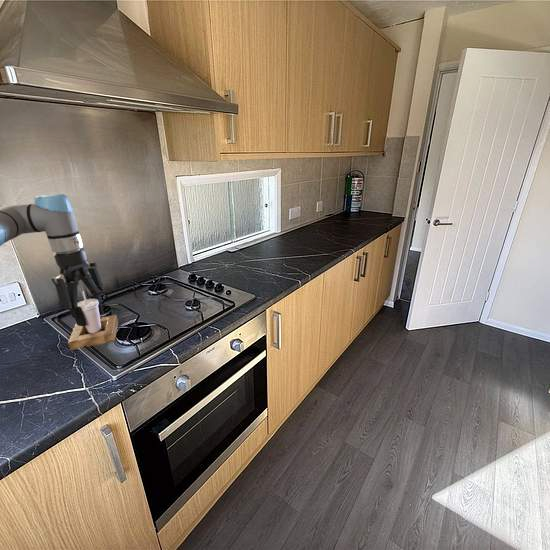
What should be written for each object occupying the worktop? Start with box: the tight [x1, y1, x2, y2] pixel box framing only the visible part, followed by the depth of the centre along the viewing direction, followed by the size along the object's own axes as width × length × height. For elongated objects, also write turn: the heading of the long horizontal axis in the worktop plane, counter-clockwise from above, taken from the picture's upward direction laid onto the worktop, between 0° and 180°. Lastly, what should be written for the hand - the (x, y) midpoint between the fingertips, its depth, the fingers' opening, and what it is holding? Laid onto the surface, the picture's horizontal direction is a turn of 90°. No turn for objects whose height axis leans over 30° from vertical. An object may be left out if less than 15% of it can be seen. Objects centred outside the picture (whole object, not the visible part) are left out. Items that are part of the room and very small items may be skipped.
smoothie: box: [78, 290, 102, 334], centre depth 92 cm, size 6×6×14 cm
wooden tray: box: [67, 314, 119, 351], centre depth 95 cm, size 12×12×3 cm
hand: (91, 319), depth 93 cm, fingers closed on smoothie, 6 cm apart
